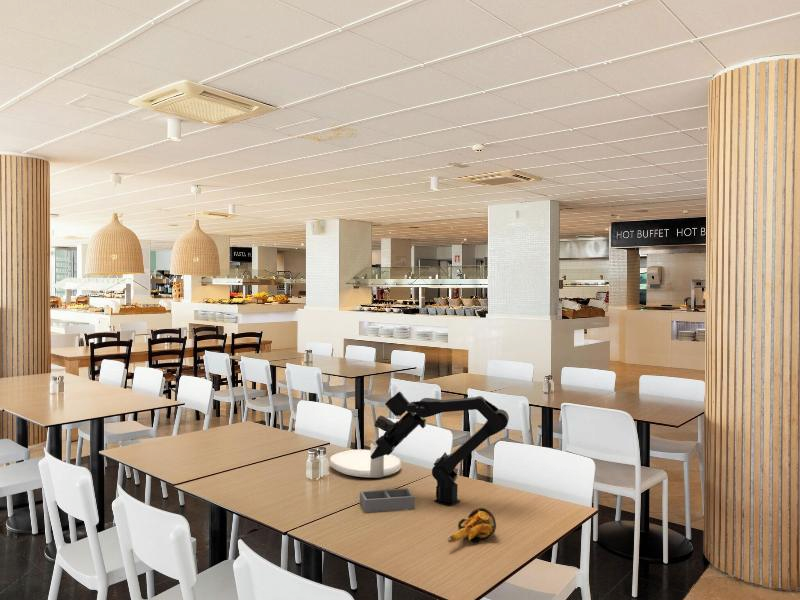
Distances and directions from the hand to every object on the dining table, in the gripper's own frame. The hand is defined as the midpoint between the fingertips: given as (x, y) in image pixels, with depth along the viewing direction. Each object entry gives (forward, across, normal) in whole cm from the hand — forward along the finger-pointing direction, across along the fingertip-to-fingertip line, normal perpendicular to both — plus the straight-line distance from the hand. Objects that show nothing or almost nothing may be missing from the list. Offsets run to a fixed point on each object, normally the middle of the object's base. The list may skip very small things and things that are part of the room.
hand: (373, 456), depth 210 cm
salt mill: (+4, 0, +6) cm, 7 cm away
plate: (+17, -27, +2) cm, 32 cm away
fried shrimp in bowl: (-17, +31, +36) cm, 50 cm away
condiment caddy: (+4, +10, +15) cm, 18 cm away
